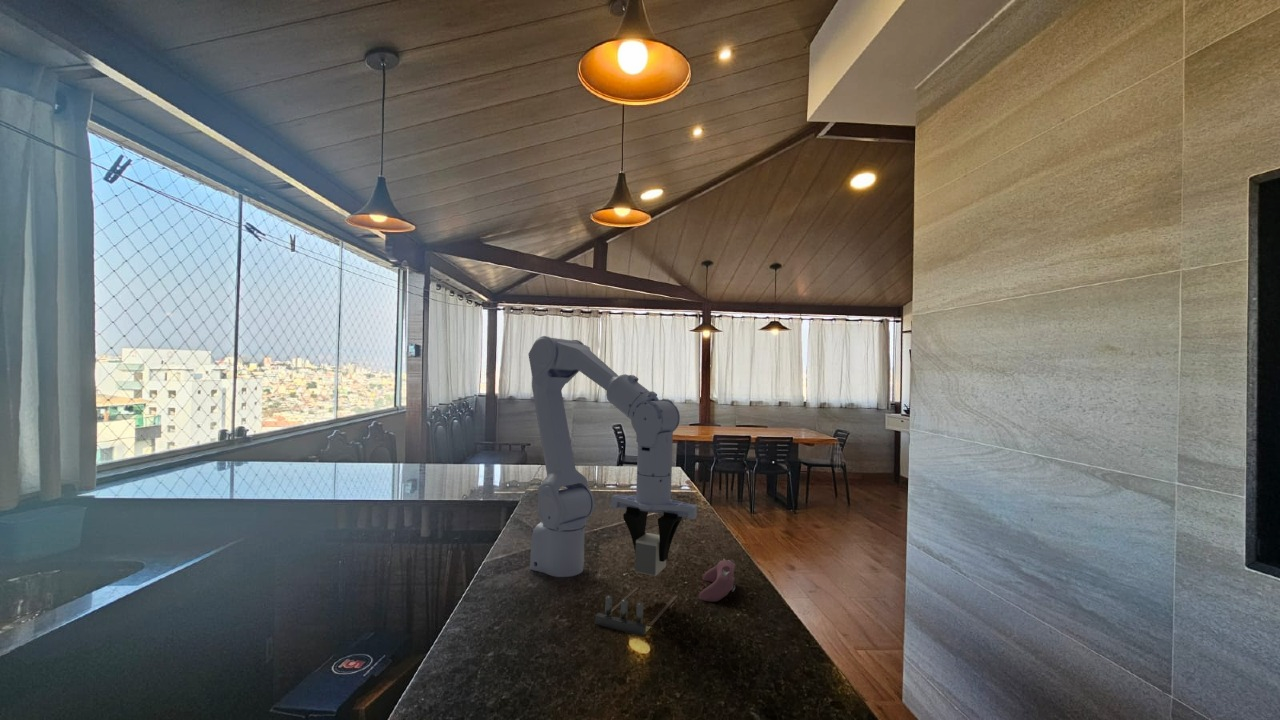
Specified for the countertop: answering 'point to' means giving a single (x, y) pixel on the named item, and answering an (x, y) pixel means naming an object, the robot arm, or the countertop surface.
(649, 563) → the plug block
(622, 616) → the header
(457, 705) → the countertop surface
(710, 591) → the video game controller
